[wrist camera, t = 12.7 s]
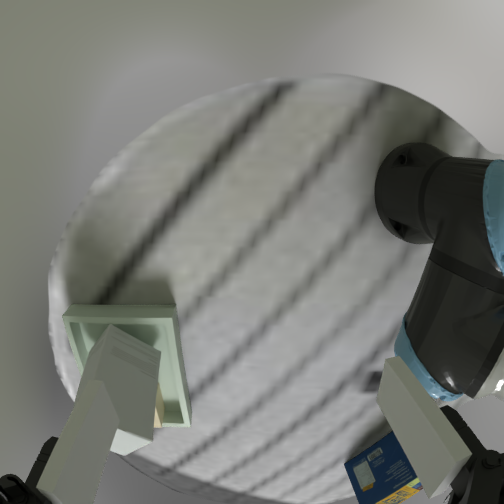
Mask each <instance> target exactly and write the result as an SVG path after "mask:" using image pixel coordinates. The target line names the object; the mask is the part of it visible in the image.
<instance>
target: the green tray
mask: <svg viewBox="0 0 504 504" xmlns="http://www.w3.org/2000/svg"><path fill="white" fill-rule="evenodd" d="M62 318H63V321H64V325H65V329H66V332H67V335H68V339H69V342H70V345H71V348H72V351H73V354H74V357H75V360H76V363H77V366H78V369H79V372H80V374H81V377H82V374H83V370H84V367H85V364H86V361H87V357H88V354H89V351H90V350H91V348H92V347H93V346H94V344H95V343H96V342H97V340H98V339H99V338H100V336H101V335H102V334H103V332H104V331H105V330H106V329H107V327H108V326H109V325H110V324H112V325H113V326H115V327H117V328H119V329H120V330H122V331H124V332H126V333H127V334H129V335H131V336H133V337H135V338H137V339H138V340H140V341H142V342H144V343H146V344H148V345H150V346H151V347H153V348H155V349H157V350H159V351H161V359H160V367H159V376H158V383H159V385H160V389H161V393H162V397H163V401H164V405H165V411H164V417H163V423H162V427H191V419H192V409H191V403H190V398H189V392H188V386H187V380H186V374H185V368H184V361H183V355H182V348H181V341H180V334H179V326H178V318H177V310H176V304H172V305H91V304H72V305H71V306H70V307H69V308H68V310H67V311H66V312H65V313H64V314H63V315H62Z"/></svg>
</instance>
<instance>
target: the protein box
mask: <svg viewBox="0 0 504 504" xmlns="http://www.w3.org/2000/svg"><path fill="white" fill-rule="evenodd" d="M344 466H345V468H346V471H347V474H348V476H349V479H350V481H351V484H352V487H353V489H354V492H355V494H356V497H357V500H358V502H359V504H400V503H401V502H403V501H405V500H406V499H408V498H409V497H411V496H413V495H414V494H415V493H417V492H418V491H420V490H421V489H423V486H422V484H421V482H420V481H419V479H418V477H417V475H416V473H415V471H414V469H413V467H412V465H411V463H410V461H409V460H408V458H407V456H406V454H405V452H404V450H403V448H402V447H401V445H400V443H399V441H398V439H397V437H396V435H395V434H394V432H393V431H392V432H391V433H389V434H388V435H387V436H385V437H384V438H382V439H381V440H380V441H378V442H377V443H375V444H374V445H373V446H371V447H370V448H368V449H367V450H365V451H364V452H362V453H361V454H359V455H358V456H356V457H354V458H353V459H351V460H350V461H348V462H347V463H345V464H344Z"/></svg>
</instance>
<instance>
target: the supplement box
mask: <svg viewBox="0 0 504 504" xmlns="http://www.w3.org/2000/svg"><path fill="white" fill-rule="evenodd" d="M160 359H161V351H159V350H157V349H155V348H153V347H151V346H150V345H148V344H146V343H144V342H142V341H140V340H138V339H137V338H135V337H133V336H131V335H129V334H127V333H126V332H124V331H122V330H120V329H119V328H117V327H115V326H113V325H112V324H110V325H109V326H108V327H107V329H106V330H105V331H104V332H103V334H102V335H101V336H100V338H99V339H98V340H97V342H96V343H95V344H94V346H93V347H92V348H91V350H90V351H89V354H88V357H87V361H86V364H85V367H84V370H83V374H82V377H81V381H80V384H79V388H78V391H77V395H76V399H75V403H74V407H75V405H76V403H77V401H78V400H79V398H80V396H81V394H82V392H83V390H84V388H85V387H86V385H87V383H88V381H89V380H99V381H103V382H104V385H105V387H106V390H107V392H108V395H109V397H110V399H111V402H112V404H113V406H114V408H115V411H116V413H117V415H118V417H119V419H120V422H119V425H118V428H117V431H116V434H115V436H114V439H113V442H112V445H111V448H110V451H113V452H115V453H118V454H121V455H124V456H125V455H127V454H129V453H131V452H133V451H135V450H137V449H139V448H141V447H143V446H145V445H147V444H149V443H151V442H153V432H154V418H155V406H156V395H157V385H158V376H159V367H160ZM74 407H73V409H74ZM72 411H73V410H72Z"/></svg>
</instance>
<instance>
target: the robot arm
mask: <svg viewBox="0 0 504 504" xmlns="http://www.w3.org/2000/svg"><path fill="white" fill-rule="evenodd" d="M375 202H376V207H377V211H378V214H379V217H380V219H381V221H382V223H383V224H384V226H385V227H386V228H387V229H388V230H389V231H390V232H391V233H392V234H393V235H395V236H396V237H398V238H400V239H402V240H404V241H406V242H409V243H413V244H428V243H434V244H433V247H432V250H431V253H430V256H429V258H428V261H427V263H426V266H425V269H424V272H423V274H422V277H421V280H420V282H419V285H418V287H417V290H416V292H415V295H414V297H413V300H412V302H411V305H410V307H409V309H408V311H407V312H406V313H405V315H404V317H403V320H402V326H401V328H400V331H399V333H398V336H397V338H396V341H395V345H394V352H395V356H396V357H392V358H388V359H385V364H384V369H383V374H382V378H381V383H380V387H379V391H378V395H377V400H376V401H377V403H378V405H379V406H380V408H381V410H382V412H383V414H384V415H385V417H386V419H387V421H388V423H389V424H390V426H391V428H392V430H393V432H394V434H395V435H396V437H397V439H398V441H399V443H400V445H401V447H402V448H403V450H404V452H405V454H406V456H407V458H408V460H409V461H410V463H411V465H412V467H413V469H414V471H415V473H416V475H417V477H418V479H419V481H420V482H421V484H422V486H423V488H424V490H425V492H426V494H427V496H428V498H429V499H430V498H432V497H435V496H437V495H439V494H441V493H443V492H445V491H446V489H447V488H448V487H449V486H450V485H451V487H452V489H453V490H452V492H451V493H450V494H449V495H448V496H447V498H446V499H445V501H444V502H445V503H446V502H447V501H448V500H449V501H448V504H504V453H502V454H500V453H498V452H497V451H494V450H486V449H485V448H484V446H483V445H482V444H481V442H480V441H479V440H478V439H477V437H476V436H475V434H474V433H473V432H472V430H471V429H470V428H469V427H468V426H467V424H466V422H465V421H464V420H463V418H462V417H461V416H460V415H459V413H458V412H457V411H456V410H454V409H453V408H451V407H450V406H448V405H446V406H444V407H441V408H439V407H438V406H437V404H436V403H435V402H434V400H433V399H432V398H431V397H433V398H435V399H437V398H440V399H441V400H442V401H453V400H456V399H458V398H459V397H461V396H462V395H463V394H466V395H468V396H469V397H471V398H472V399H474V400H476V399H479V398H482V397H486V396H488V395H494V396H495V397H497V398H499V399H500V400H502V401H504V160H500V159H499V160H487V159H476V158H463V157H452V156H450V155H448V154H447V153H445V152H443V151H442V150H440V149H438V148H436V147H435V146H432V145H429V144H425V143H409V144H404V145H402V146H399V147H398V148H396V149H395V150H393V151H392V152H391V153H390V154H389V155H388V156H387V157H386V159H385V160H384V162H383V163H382V165H381V167H380V169H379V172H378V175H377V179H376V184H375ZM119 422H120V419H119V417H118V415H117V413H116V411H115V408H114V406H113V404H112V402H111V399H110V397H109V395H108V392H107V390H106V387H105V385H104V382H103V381H99V380H89V381H88V383H87V385H86V387H85V388H84V390H83V392H82V394H81V396H80V398H79V400H78V401H77V403H76V405H75V407H74V409H73V411H72V413H71V415H70V417H69V419H68V421H67V423H66V425H65V427H64V429H63V431H62V433H61V435H60V437H59V438H56V437H51V438H50V439H49V440H47V441H46V442H45V443H44V445H43V447H42V449H41V451H40V454H39V455H38V457H37V461H35V463H34V465H33V467H32V469H31V471H30V474H29V476H28V478H27V480H26V482H25V483H24V482H23V481H22V480H21V479H20V478H19V477H18V476H16V475H13V474H7V475H4V476H2V477H1V478H0V504H93V503H94V499H95V496H96V492H97V489H98V486H99V483H100V479H101V476H102V473H103V469H104V467H105V463H106V460H107V457H108V454H109V451H110V448H111V445H112V442H113V439H114V436H115V434H116V431H117V428H118V425H119Z"/></svg>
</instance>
